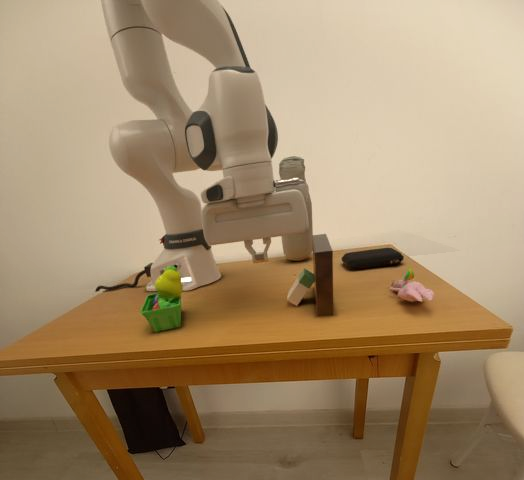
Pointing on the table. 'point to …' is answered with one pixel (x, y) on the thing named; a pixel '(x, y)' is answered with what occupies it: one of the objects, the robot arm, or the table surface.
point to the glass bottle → (301, 244)
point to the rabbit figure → (411, 289)
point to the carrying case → (372, 258)
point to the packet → (300, 287)
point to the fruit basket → (165, 301)
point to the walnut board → (323, 274)
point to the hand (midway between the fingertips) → (260, 262)
